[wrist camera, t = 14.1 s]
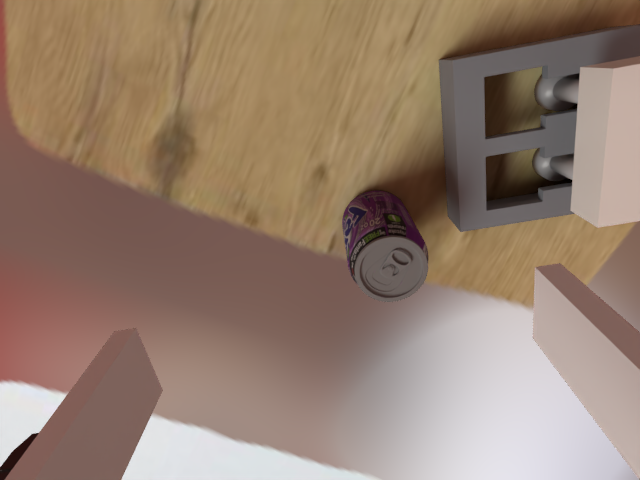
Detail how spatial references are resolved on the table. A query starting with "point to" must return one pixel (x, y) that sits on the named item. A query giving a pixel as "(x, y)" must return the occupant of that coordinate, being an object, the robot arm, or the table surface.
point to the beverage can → (384, 247)
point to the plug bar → (598, 140)
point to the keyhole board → (552, 136)
